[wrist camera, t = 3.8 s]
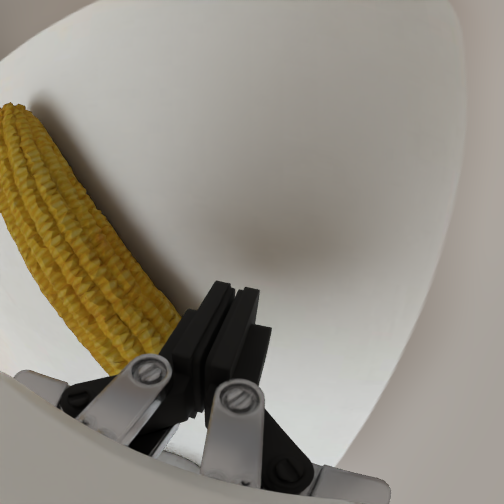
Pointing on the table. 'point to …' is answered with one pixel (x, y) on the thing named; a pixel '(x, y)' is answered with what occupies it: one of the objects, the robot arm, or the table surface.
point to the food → (76, 249)
